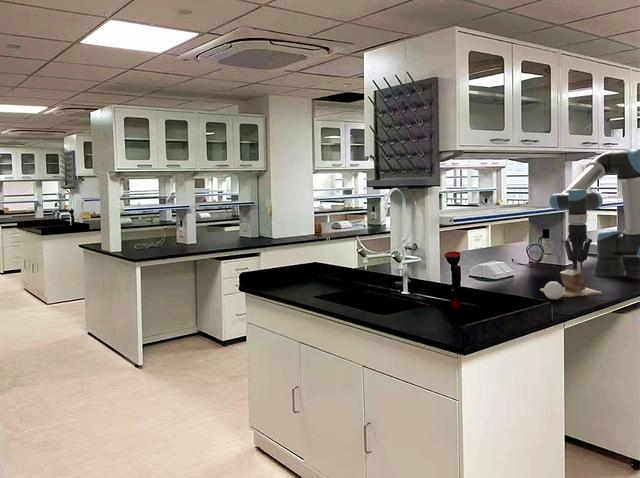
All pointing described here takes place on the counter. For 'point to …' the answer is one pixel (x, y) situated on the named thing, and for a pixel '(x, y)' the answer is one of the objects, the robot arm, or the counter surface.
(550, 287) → the geometric ball
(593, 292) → the board
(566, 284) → the wooden block
